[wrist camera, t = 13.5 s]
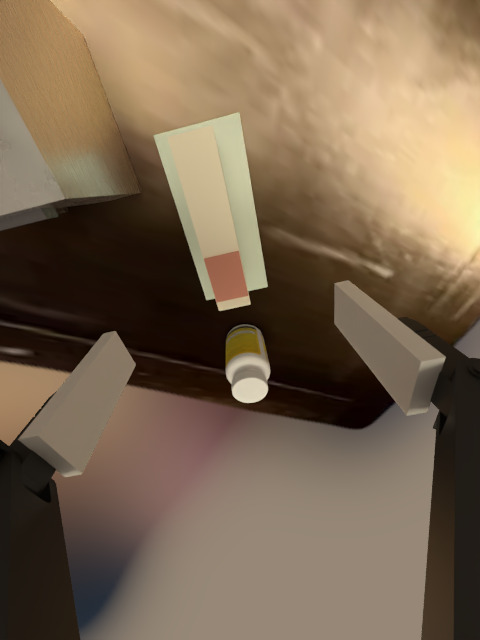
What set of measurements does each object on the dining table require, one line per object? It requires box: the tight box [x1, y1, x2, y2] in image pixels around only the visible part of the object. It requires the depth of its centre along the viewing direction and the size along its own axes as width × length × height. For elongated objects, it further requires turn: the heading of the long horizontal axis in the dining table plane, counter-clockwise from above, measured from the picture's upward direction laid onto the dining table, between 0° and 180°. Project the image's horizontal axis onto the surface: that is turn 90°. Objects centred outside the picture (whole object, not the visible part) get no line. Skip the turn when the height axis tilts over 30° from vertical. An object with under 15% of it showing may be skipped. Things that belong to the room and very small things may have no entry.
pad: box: [153, 112, 268, 300], centre depth 25 cm, size 17×8×1 cm, turn 12°
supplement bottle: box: [226, 324, 270, 403], centre depth 29 cm, size 5×5×10 cm
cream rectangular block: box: [167, 125, 251, 311], centre depth 21 cm, size 13×3×8 cm, turn 12°
